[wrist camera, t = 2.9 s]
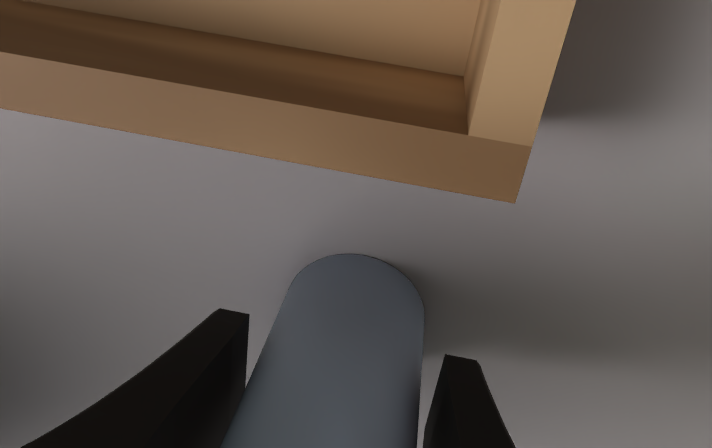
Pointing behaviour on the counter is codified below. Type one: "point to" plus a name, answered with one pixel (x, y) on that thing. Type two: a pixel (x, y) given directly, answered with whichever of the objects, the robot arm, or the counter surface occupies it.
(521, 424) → the counter surface
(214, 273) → the counter surface
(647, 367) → the counter surface
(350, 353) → the dowel
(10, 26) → the tray box
